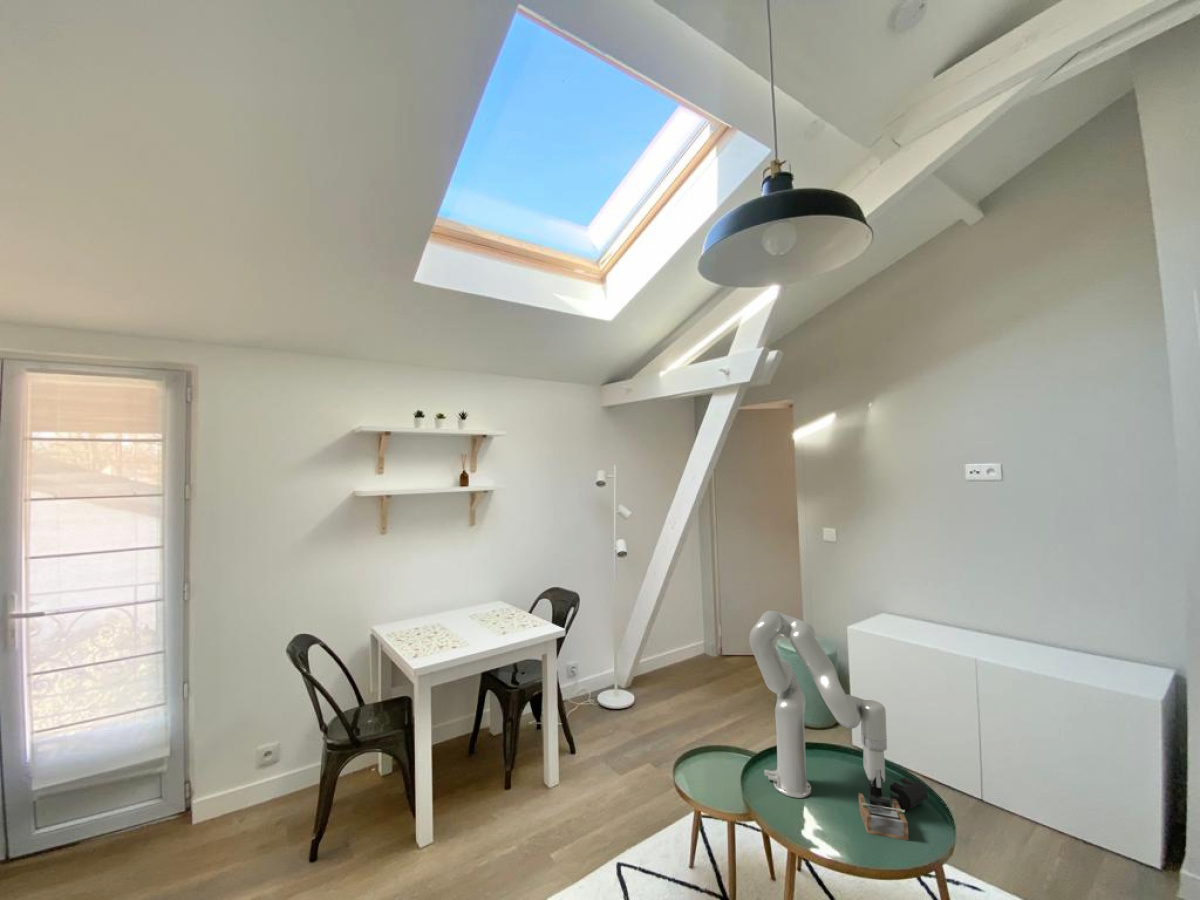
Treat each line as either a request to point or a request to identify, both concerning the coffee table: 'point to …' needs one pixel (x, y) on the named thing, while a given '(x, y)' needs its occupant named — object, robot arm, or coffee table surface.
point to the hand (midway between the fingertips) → (875, 797)
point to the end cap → (908, 793)
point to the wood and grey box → (884, 822)
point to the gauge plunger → (882, 807)
